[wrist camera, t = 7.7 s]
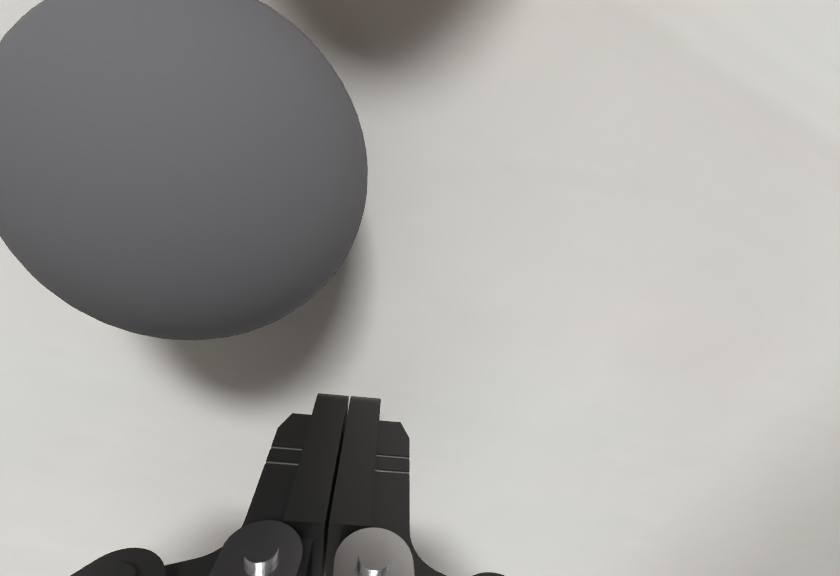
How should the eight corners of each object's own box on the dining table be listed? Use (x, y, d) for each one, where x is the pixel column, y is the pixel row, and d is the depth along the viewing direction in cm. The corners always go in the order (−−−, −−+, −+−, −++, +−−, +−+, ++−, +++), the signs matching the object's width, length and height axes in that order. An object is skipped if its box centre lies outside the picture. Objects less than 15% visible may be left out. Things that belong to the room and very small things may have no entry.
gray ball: (238, 453, 6) (450, 260, 10) (-39, -152, 3) (388, -69, 8) (29, 383, 8) (262, 257, 13) (-192, 32, 6) (177, 19, 10)
